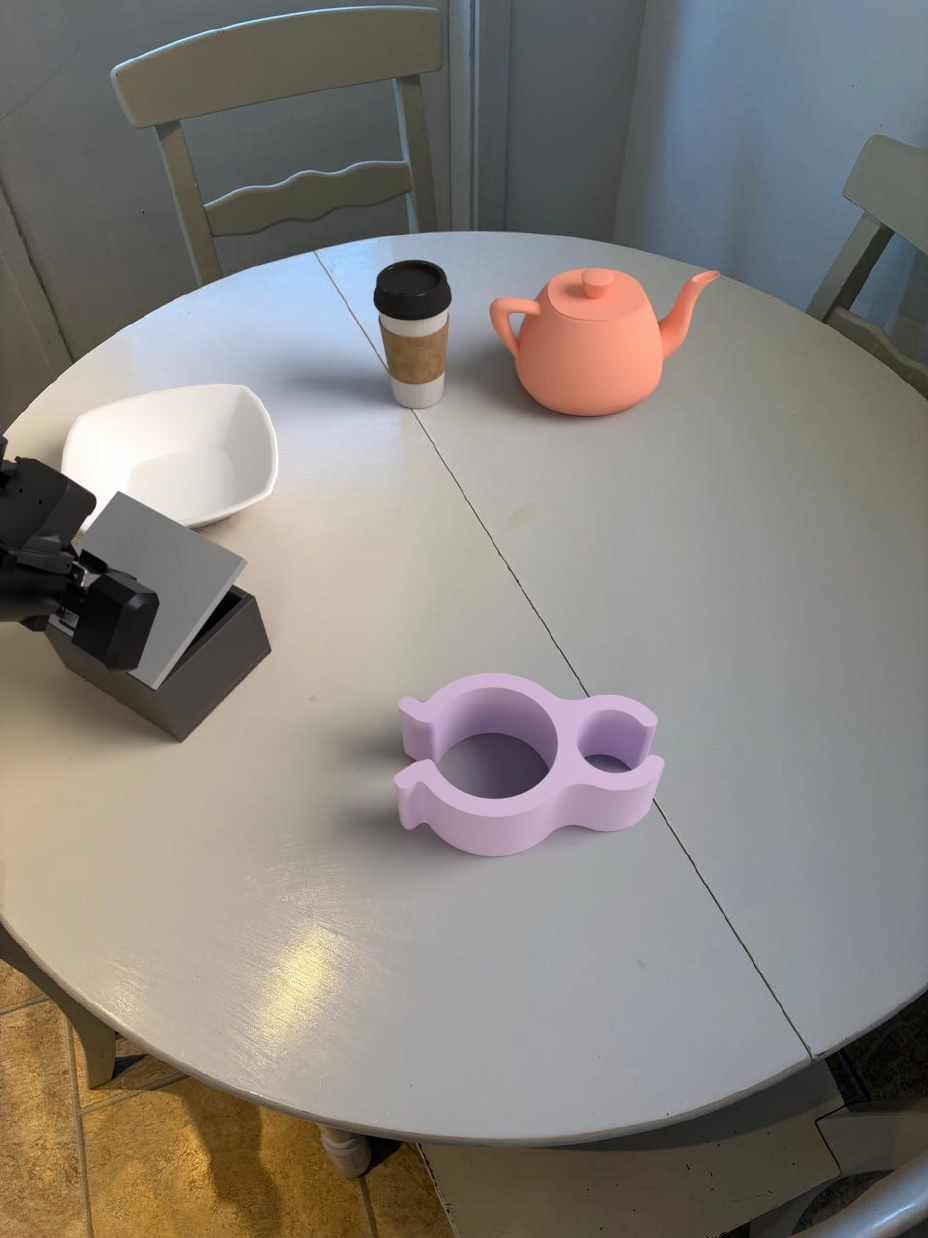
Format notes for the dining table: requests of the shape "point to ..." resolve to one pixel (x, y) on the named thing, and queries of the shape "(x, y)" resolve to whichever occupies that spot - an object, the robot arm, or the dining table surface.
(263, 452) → the bowl
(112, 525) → the box lid
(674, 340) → the teapot
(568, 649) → the dining table surface
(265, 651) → the grey hinged lid box
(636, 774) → the clip
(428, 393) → the coffee cup
